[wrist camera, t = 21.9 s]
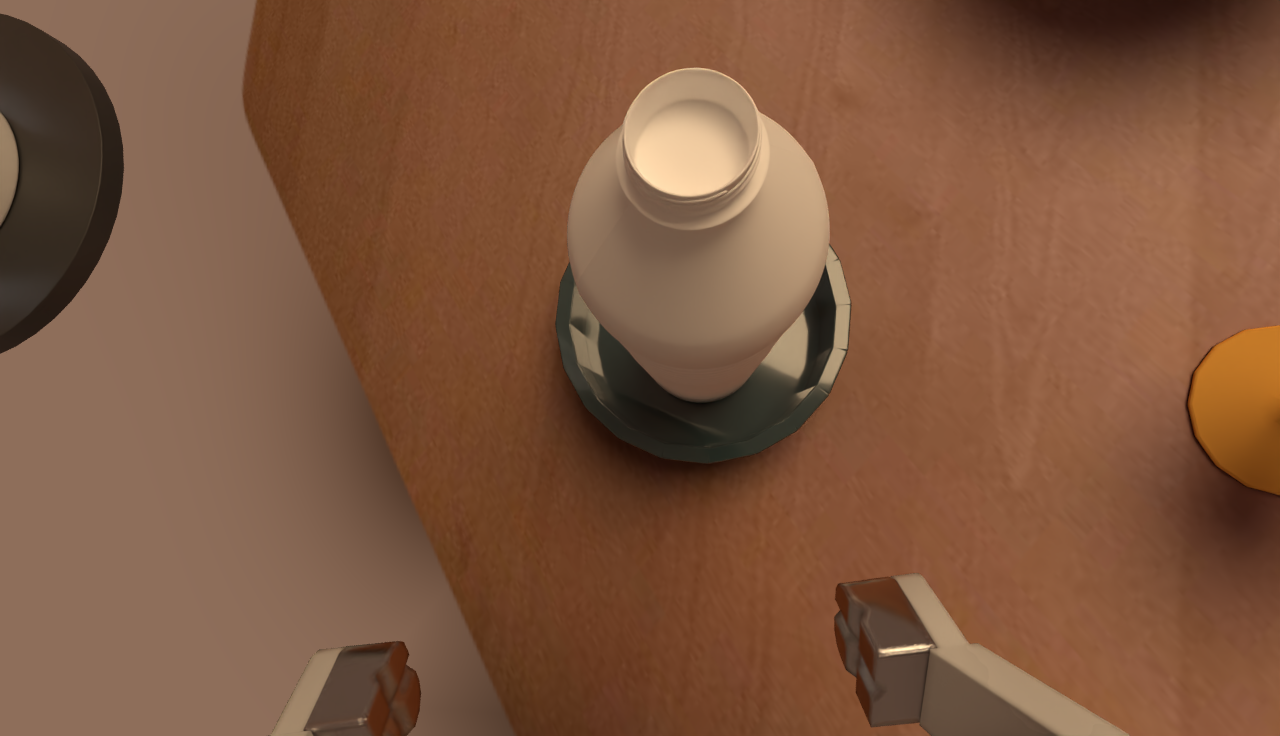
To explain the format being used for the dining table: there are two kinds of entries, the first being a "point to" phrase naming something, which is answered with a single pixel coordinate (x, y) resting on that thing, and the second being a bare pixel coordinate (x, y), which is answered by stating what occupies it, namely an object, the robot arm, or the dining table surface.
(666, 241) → the water bottle
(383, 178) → the dining table surface
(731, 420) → the holder
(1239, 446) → the cup
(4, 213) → the robot arm
